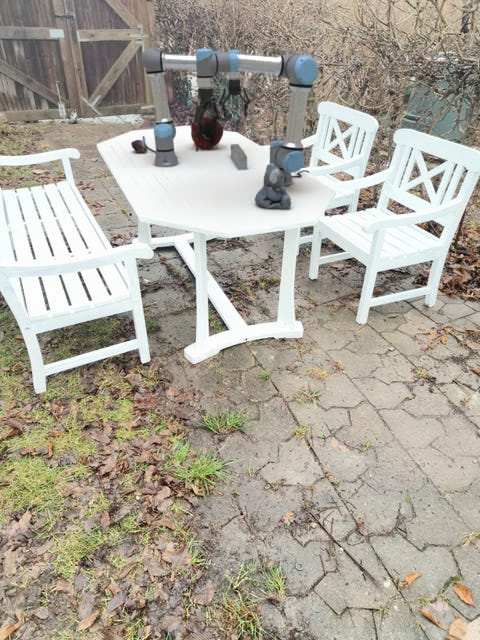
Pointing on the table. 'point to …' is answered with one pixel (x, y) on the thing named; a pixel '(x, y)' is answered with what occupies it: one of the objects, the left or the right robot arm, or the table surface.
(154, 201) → the table surface
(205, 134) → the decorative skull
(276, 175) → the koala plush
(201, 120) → the right robot arm
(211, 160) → the table surface
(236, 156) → the bar
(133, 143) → the rock
